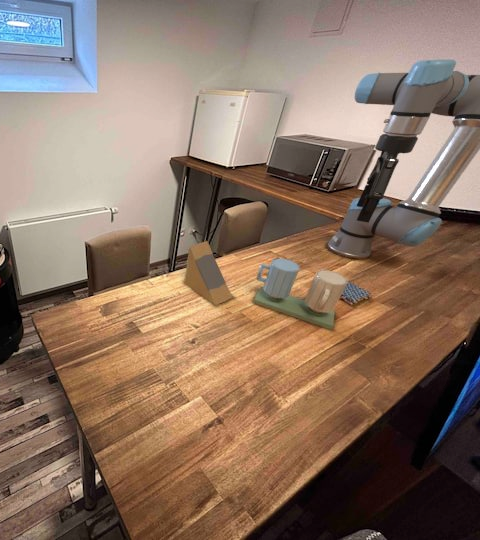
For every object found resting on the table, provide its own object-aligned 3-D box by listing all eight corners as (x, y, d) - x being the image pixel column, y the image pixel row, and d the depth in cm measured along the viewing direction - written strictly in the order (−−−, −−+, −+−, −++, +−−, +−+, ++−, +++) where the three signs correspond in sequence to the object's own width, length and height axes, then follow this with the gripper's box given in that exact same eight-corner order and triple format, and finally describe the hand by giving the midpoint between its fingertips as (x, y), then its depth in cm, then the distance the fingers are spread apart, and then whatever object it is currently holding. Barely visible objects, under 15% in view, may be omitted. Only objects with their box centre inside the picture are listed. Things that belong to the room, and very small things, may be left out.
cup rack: (259, 289, 102) (270, 256, 94) (332, 313, 91) (351, 277, 84) (253, 302, 95) (264, 268, 88) (331, 329, 85) (351, 293, 78)
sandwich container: (215, 305, 94) (224, 266, 86) (183, 282, 105) (188, 246, 97) (233, 297, 98) (243, 259, 90) (200, 275, 109) (207, 240, 101)
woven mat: (320, 288, 102) (322, 283, 101) (340, 281, 106) (343, 277, 105) (350, 306, 94) (353, 301, 93) (371, 298, 98) (374, 293, 97)
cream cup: (301, 311, 85) (314, 283, 80) (305, 293, 93) (317, 267, 87) (331, 321, 82) (347, 293, 76) (333, 302, 89) (347, 275, 84)
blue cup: (257, 278, 100) (265, 253, 94) (290, 289, 95) (301, 263, 89) (251, 289, 94) (259, 263, 89) (286, 301, 89) (297, 274, 84)
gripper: (378, 128, 84) (347, 199, 96) (384, 139, 67) (345, 224, 78) (412, 130, 80) (375, 203, 92) (428, 143, 63) (380, 231, 75)
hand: (362, 213), depth 85 cm, fingers open, 13 cm apart
